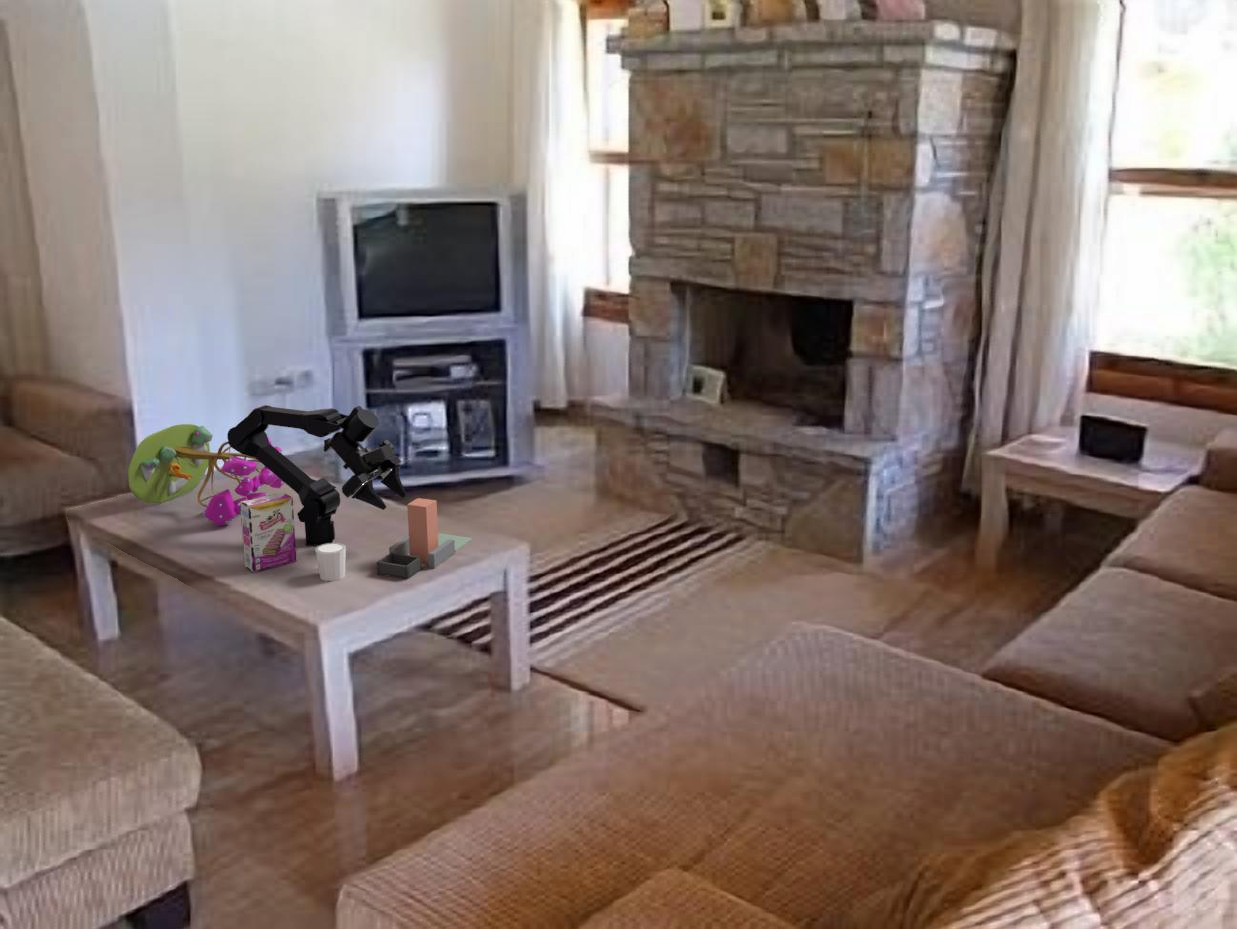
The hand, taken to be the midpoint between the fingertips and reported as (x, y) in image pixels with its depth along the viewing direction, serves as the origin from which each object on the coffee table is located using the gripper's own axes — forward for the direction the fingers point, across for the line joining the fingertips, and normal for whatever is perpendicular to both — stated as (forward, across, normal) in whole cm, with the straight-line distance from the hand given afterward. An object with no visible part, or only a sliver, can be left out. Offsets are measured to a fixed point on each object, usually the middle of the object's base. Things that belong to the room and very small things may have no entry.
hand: (395, 502), depth 276 cm
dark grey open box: (+14, -10, +5) cm, 17 cm away
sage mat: (+14, +11, +4) cm, 19 cm away
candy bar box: (-8, -17, +26) cm, 32 cm away
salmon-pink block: (+14, 0, +4) cm, 15 cm away
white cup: (+5, -18, +14) cm, 23 cm away
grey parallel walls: (+14, 0, +4) cm, 15 cm away
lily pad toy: (-33, +11, +52) cm, 63 cm away
